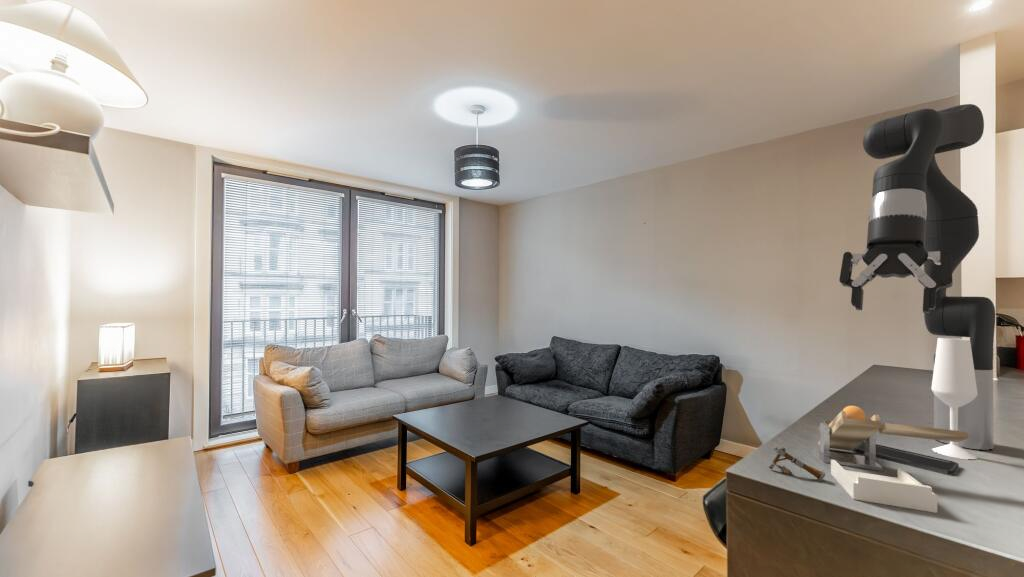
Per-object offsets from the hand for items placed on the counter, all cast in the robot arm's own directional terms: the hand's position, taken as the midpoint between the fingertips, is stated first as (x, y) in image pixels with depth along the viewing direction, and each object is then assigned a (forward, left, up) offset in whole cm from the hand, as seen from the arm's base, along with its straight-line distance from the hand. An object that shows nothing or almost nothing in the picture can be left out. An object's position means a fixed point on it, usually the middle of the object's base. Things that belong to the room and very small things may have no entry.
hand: (890, 310), depth 71 cm
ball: (-8, -3, -20) cm, 21 cm away
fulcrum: (-11, -3, -30) cm, 32 cm away
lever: (-11, +3, -25) cm, 27 cm away
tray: (+3, -3, -30) cm, 30 cm away
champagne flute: (-27, +20, -30) cm, 45 cm away
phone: (-18, +8, -30) cm, 36 cm away
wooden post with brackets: (+2, -14, -30) cm, 33 cm away
